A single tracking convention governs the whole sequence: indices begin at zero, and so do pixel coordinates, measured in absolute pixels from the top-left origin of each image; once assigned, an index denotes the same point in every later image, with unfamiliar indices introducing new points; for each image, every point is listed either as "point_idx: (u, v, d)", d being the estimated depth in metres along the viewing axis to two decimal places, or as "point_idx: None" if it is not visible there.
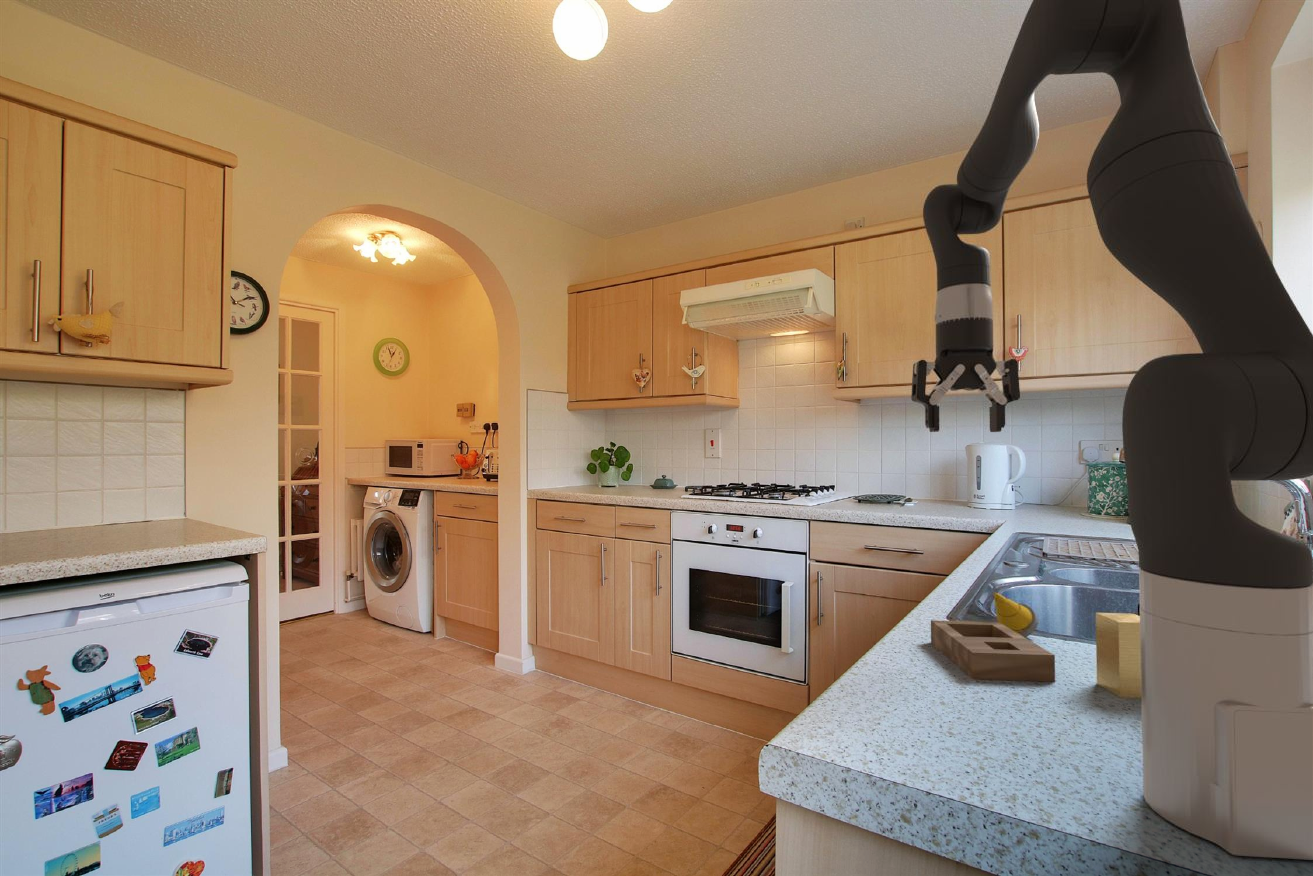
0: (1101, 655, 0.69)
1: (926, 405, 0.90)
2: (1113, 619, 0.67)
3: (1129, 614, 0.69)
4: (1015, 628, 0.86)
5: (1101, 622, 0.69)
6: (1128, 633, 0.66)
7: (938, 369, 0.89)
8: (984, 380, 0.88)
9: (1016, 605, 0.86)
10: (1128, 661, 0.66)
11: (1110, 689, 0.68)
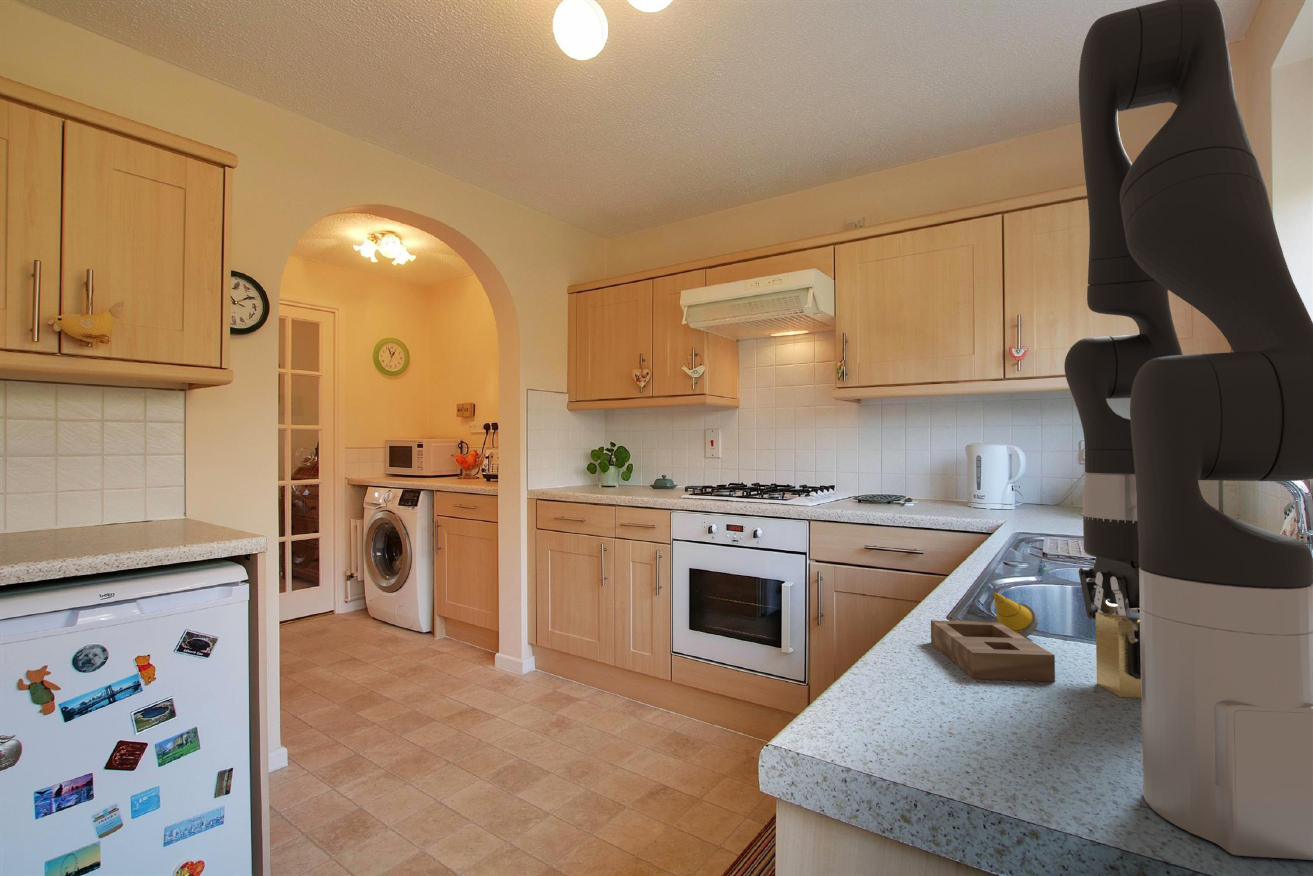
0: (1101, 655, 0.69)
1: None
2: (1113, 619, 0.67)
3: None
4: (1015, 628, 0.86)
5: (1101, 622, 0.69)
6: None
7: None
8: None
9: (1016, 605, 0.86)
10: None
11: (1110, 689, 0.68)
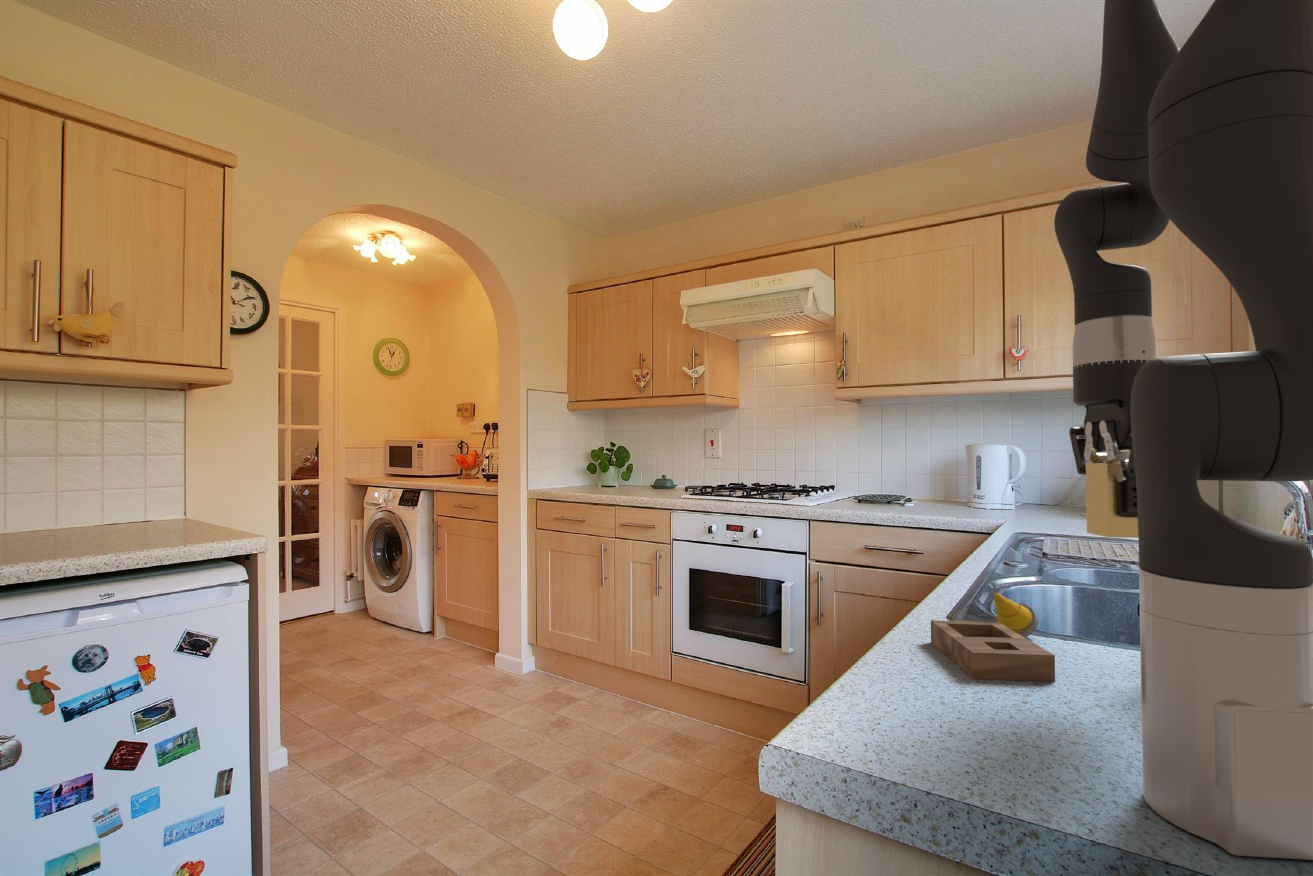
0: (1091, 503, 0.70)
1: None
2: None
3: None
4: (1015, 628, 0.86)
5: (1091, 470, 0.70)
6: None
7: None
8: None
9: (1016, 605, 0.86)
10: None
11: (1099, 533, 0.68)
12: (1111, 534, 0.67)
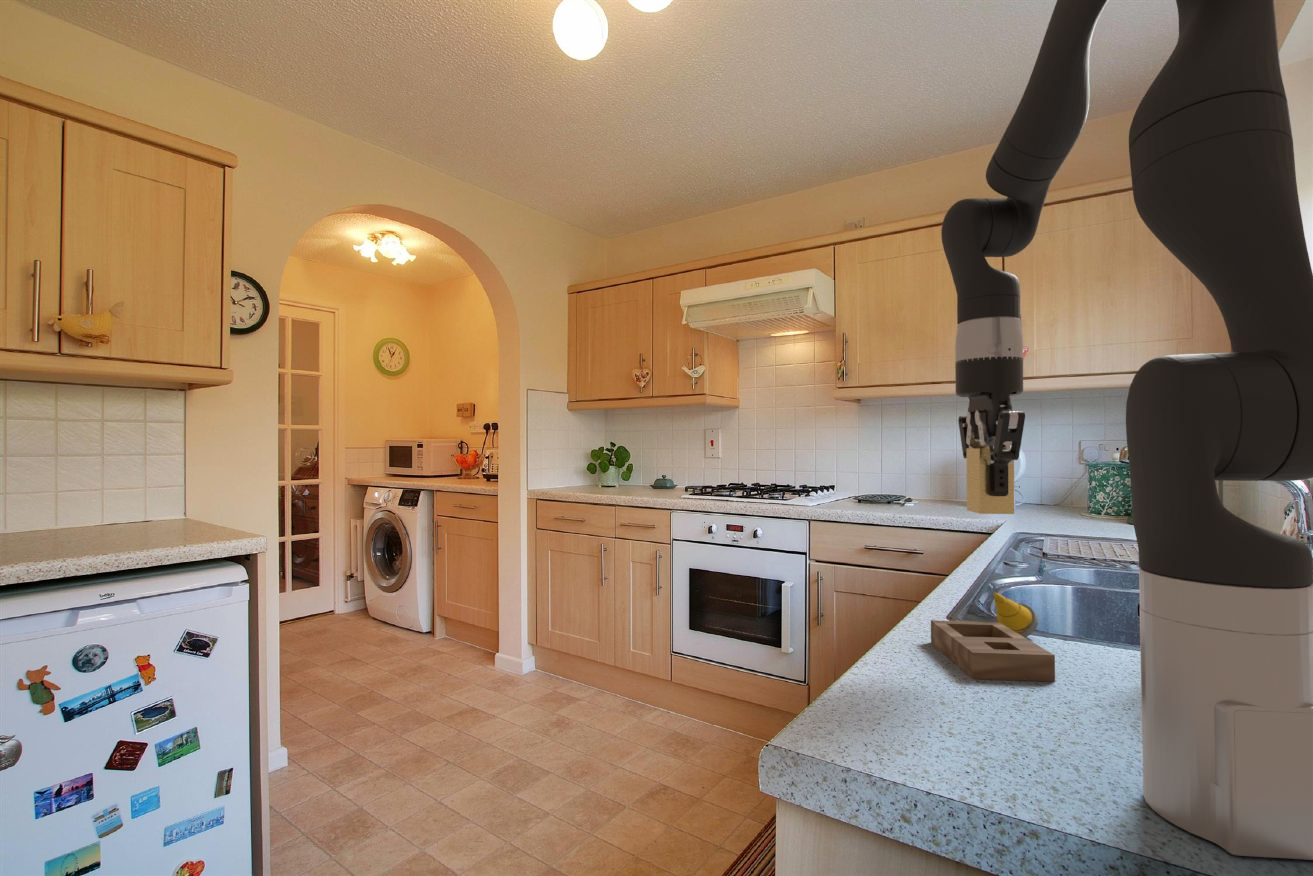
0: (969, 483, 0.79)
1: (1004, 465, 0.74)
2: (977, 448, 0.77)
3: None
4: (1015, 628, 0.86)
5: (969, 454, 0.79)
6: None
7: None
8: None
9: (1016, 605, 0.86)
10: None
11: (974, 510, 0.77)
12: (982, 511, 0.76)
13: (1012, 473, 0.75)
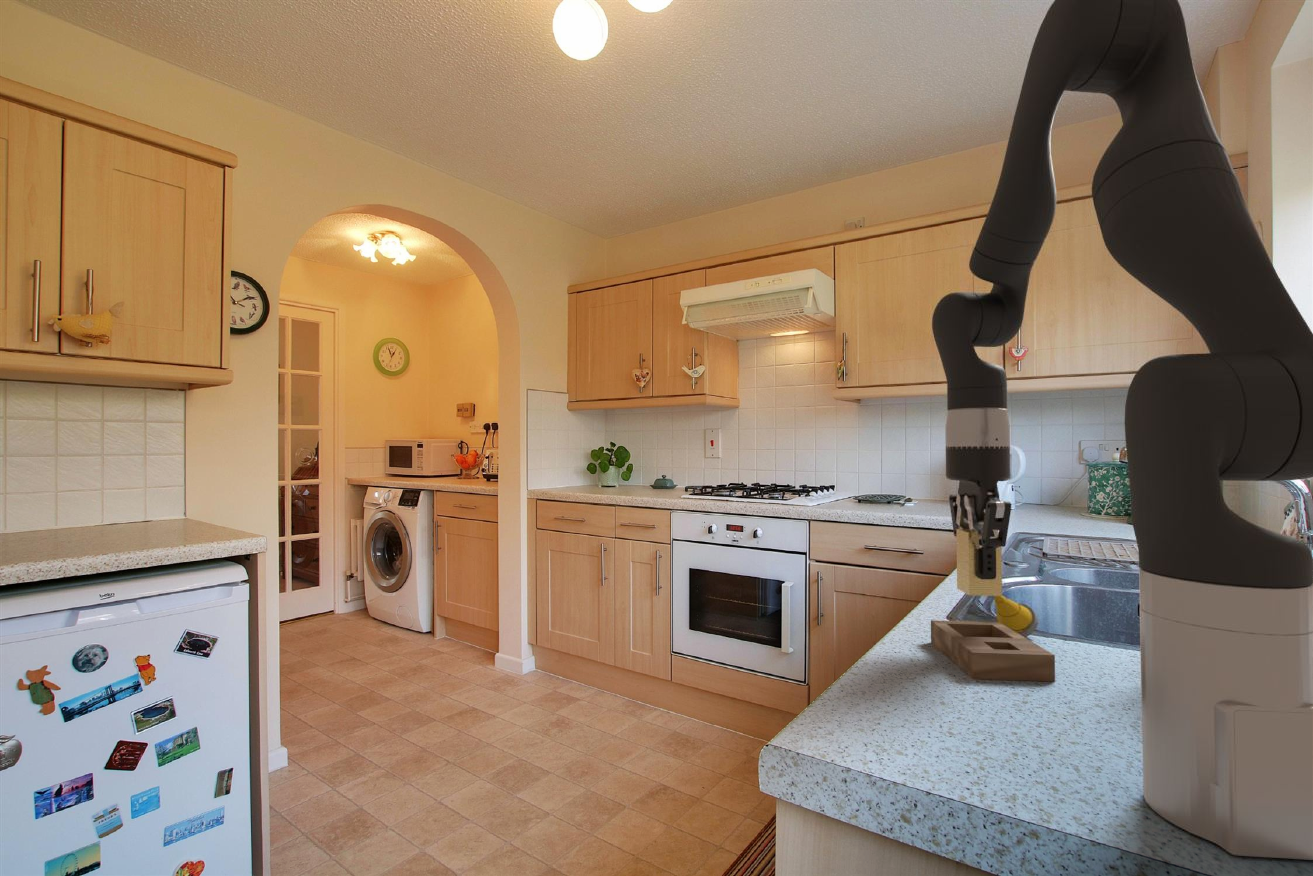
0: (959, 563, 0.82)
1: (992, 550, 0.77)
2: (966, 531, 0.80)
3: None
4: (1015, 628, 0.86)
5: (959, 536, 0.82)
6: None
7: None
8: None
9: (1016, 605, 0.86)
10: None
11: (964, 590, 0.80)
12: (971, 592, 0.79)
13: (1000, 557, 0.79)
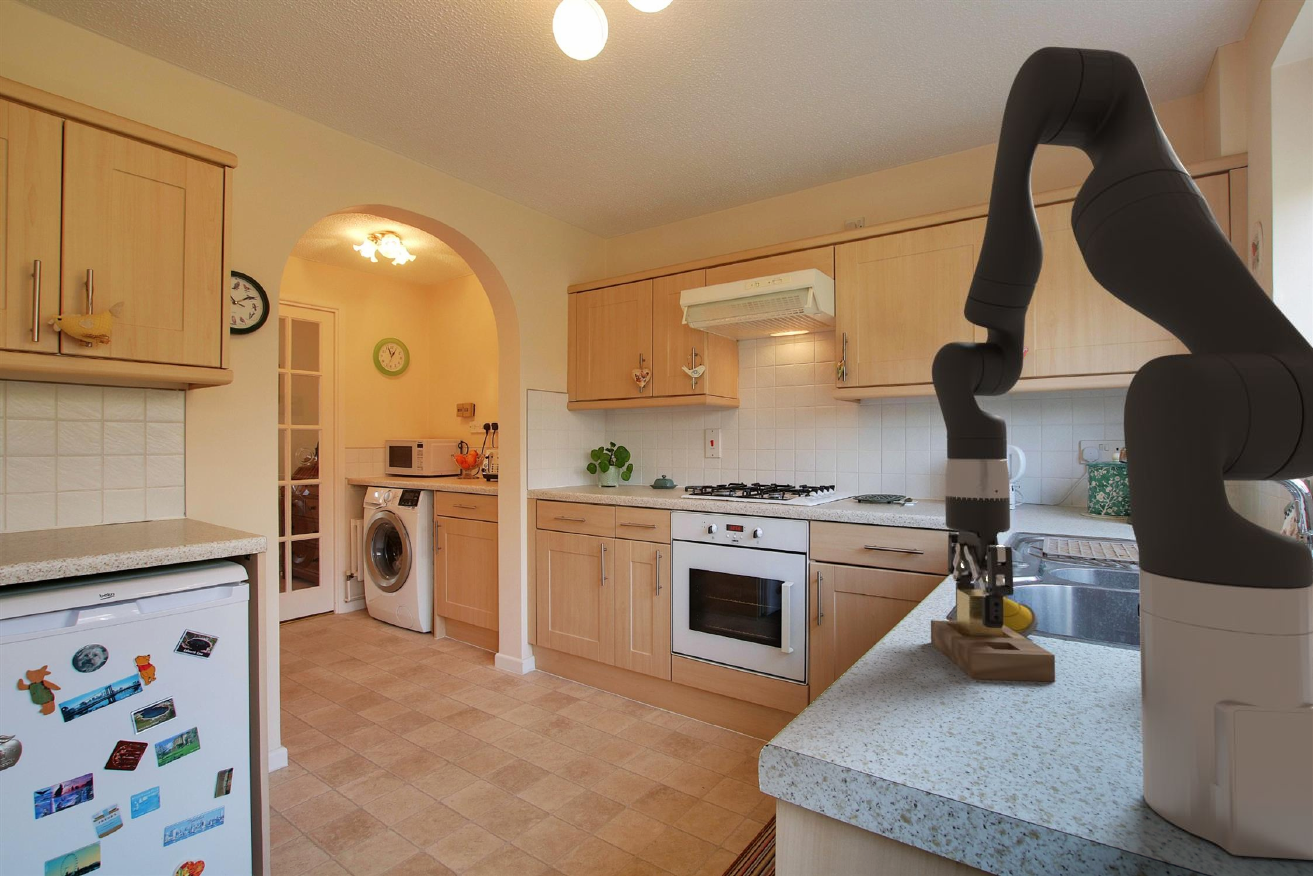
0: (960, 625, 0.82)
1: (999, 598, 0.75)
2: (966, 593, 0.80)
3: None
4: (1015, 628, 0.86)
5: (960, 597, 0.82)
6: (977, 605, 0.78)
7: None
8: None
9: (1016, 605, 0.86)
10: (976, 628, 0.78)
11: None
12: None
13: None
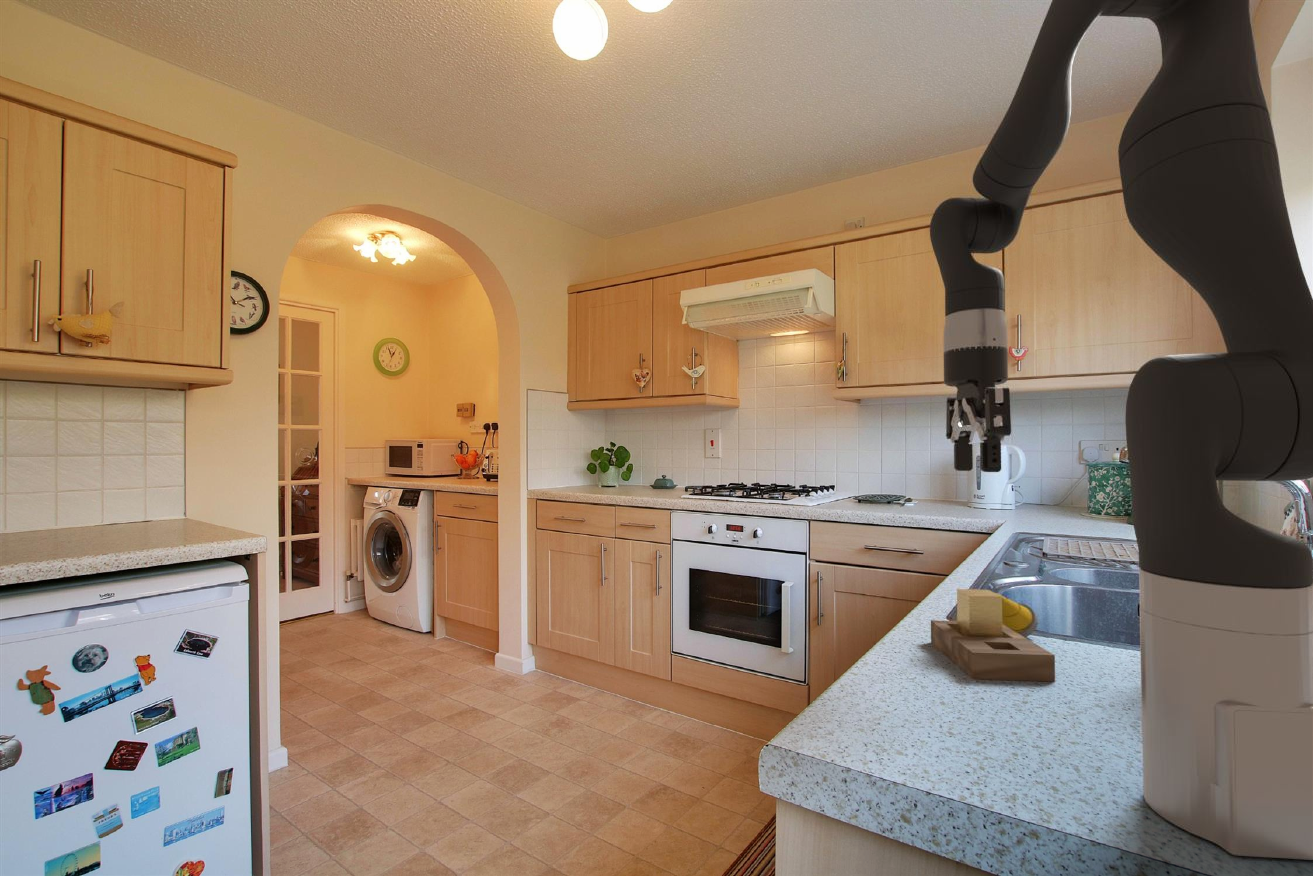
0: (960, 625, 0.82)
1: (997, 441, 0.76)
2: (966, 593, 0.80)
3: (984, 590, 0.82)
4: (1015, 628, 0.86)
5: (960, 597, 0.82)
6: (977, 605, 0.78)
7: None
8: None
9: (1016, 605, 0.86)
10: (977, 628, 0.78)
11: None
12: None
13: (1000, 620, 0.78)
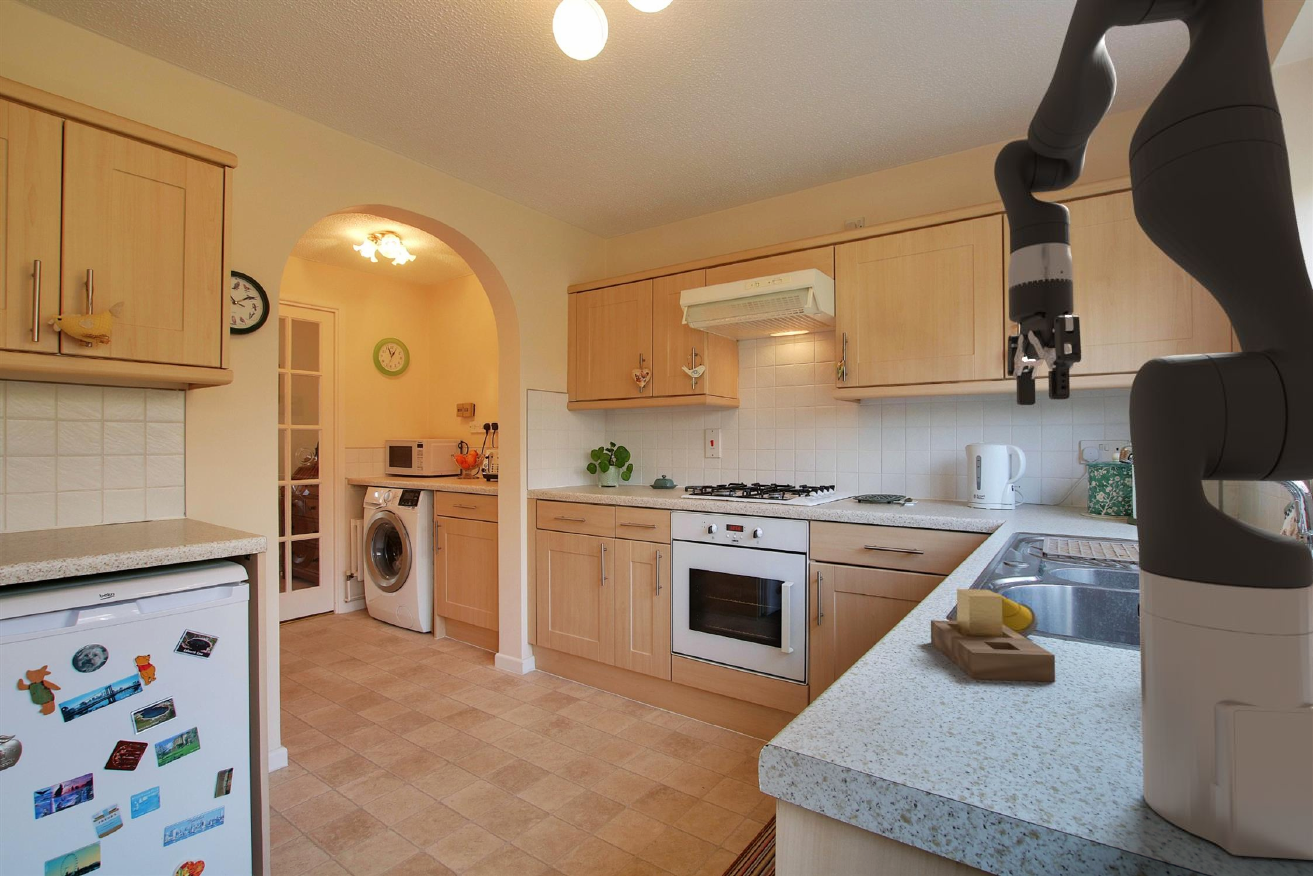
0: (960, 625, 0.82)
1: (1066, 368, 0.79)
2: (966, 593, 0.80)
3: (984, 590, 0.82)
4: (1015, 628, 0.86)
5: (960, 597, 0.82)
6: (977, 605, 0.78)
7: None
8: None
9: (1016, 605, 0.86)
10: (976, 628, 0.78)
11: None
12: None
13: (1000, 620, 0.78)
